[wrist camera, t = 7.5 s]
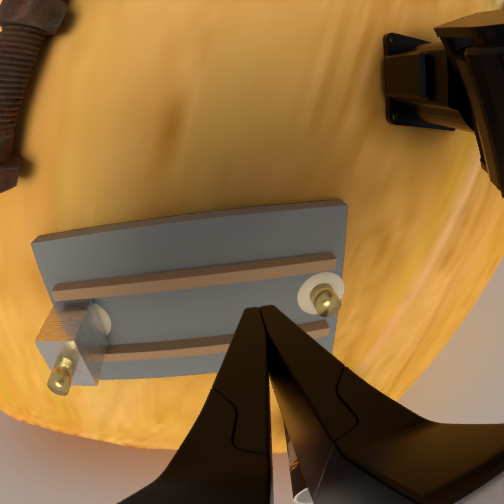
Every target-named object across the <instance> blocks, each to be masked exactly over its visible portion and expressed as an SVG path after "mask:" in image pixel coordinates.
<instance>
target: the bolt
mask: <svg viewBox="0 0 504 504" xmlns="http://www.w3.org/2000/svg"><path fill="white" fill-rule="evenodd" d="M67 10H68V5H67V4H66V3H65V2H63V0H3V1H2V3H1V5H0V26H1V28H2V31H1V32H0V193H2V192H4V191H7V190H9V189H11V188H13V187H15V186H16V185H17V179H18V174H19V168H20V162H21V157H22V156H20V155H17V154H14V153H11V149H12V145H13V140H14V135H15V132H14V130H15V125H16V121H15V120H17V118H18V117H17V115H18V114H19V111H18V109H20V105H19V104H21V103H22V101H21V100H20V99H21V98H23V95H22V93H24V92H25V90H24V88H25V87H27V85H26V82H28V81H29V80H28V78H27V77H29V76H31V75H30V73H29V72H30V71H32V68H31V66H34V63H33V61H35V60H37V59H36V58H35V56H37V55H39V54H38V53H37V51H38V50H40V47H39V46H40V45H42V44H43V43H42V42H41V41H42V40H44V39H45V38H44V35H55V34H56V33H57V31H58V29H59V26H60V24H61V22H62V20H63V18H64V16H65V14H66V12H67Z"/></svg>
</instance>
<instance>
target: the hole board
mask: <svg viewBox="0 0 504 504" xmlns="http://www.w3.org/2000/svg"><path fill="white" fill-rule="evenodd" d="M347 209H348V205H347V204H345V203H344V202H343V201H341V200H328V201H315V202H303V203H291V204H279V205H269V206H258V207H248V208H238V209H229V210H220V211H211V212H202V213H193V214H185V215H177V216H169V217H161V218H154V219H146V220H139V221H132V222H125V223H118V224H111V225H104V226H98V227H91V228H85V229H79V230H73V231H67V232H61V233H55V234H49V235H43V236H38V237H37V238H36V239H35V240H34V241H33V242H32V243H31V246H32V249H33V252H34V255H35V258H36V261H37V264H38V267H39V270H40V272H41V275H42V278H43V280H44V283H45V286H46V288H47V291H48V293H49V296H50V298H51V301H52V303H53V305H55V303H56V301H66V300H78V299H89V298H92V300H93V303H94V306H95V308H96V311H97V314H98V316H99V319H100V321H101V324H102V326H103V329H104V331H105V334H106V336H107V339H108V341H109V343H108V347H107V350H106V354H105V358H104V361H103V365H102V369H101V373H100V377H99V380H114V379H142V378H160V377H174V376H186V375H197V374H207V373H216V372H218V371H219V369H220V367H221V364H222V362H223V359H224V357H225V355H226V352H227V350H228V347H229V345H230V342H231V340H232V338H233V335H234V333H235V330H236V328H237V325H238V323H239V321H240V318H241V316H242V313H243V311H244V309H245V308H250V307H258V308H260V306H265V305H274V306H276V307H277V308H278V309H279V310H280V311H281V312H283V313H284V314H285V315H286V316H287V317H288V318H290V319H291V320H292V321H293V322H294V323H295V324H297V325H298V326H299V327H300V328H301V329H302V330H304V331H305V332H306V333H307V334H308V335H310V336H311V337H312V338H313V339H314V340H315V341H317V342H318V343H319V344H320V345H321V346H323V347H324V348H325V349H326V350H327V351H329V352H330V353H331V354H332V351H333V344H334V337H335V330H336V323H337V315H338V312H337V313H336V314H334V315H333V316H330V317H321V316H319V315H318V314H317V312H316V310H315V308H314V306H313V304H312V302H311V300H310V293H311V291H312V289H313V288H315V287H316V286H318V285H320V284H328V285H330V286H331V287H332V288H333V289H334V291H335V293H336V294H337V296H338V297H339V299H340V300H341V299H342V297H343V294H344V289H345V287H344V282H343V280H342V272H343V262H344V250H345V238H346V224H347Z"/></svg>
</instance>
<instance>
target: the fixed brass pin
mask: <svg viewBox="0 0 504 504" xmlns="http://www.w3.org/2000/svg"><path fill="white" fill-rule="evenodd" d="M310 300H311V302H312V304H313V306H314V308H315V310H316V312H317V314H318V315H319V316H321V317H330V316H333V315H334V314H336V313H337V312H338V311H339V309H340V307H341V300H340V299H339V297H338V296H337V294H336V293H335V291H334V289H333V288H332V287H331V286H330V285H328V284H320V285H318V286H316V287H315V288H313V289H312V291H311V293H310Z"/></svg>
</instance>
